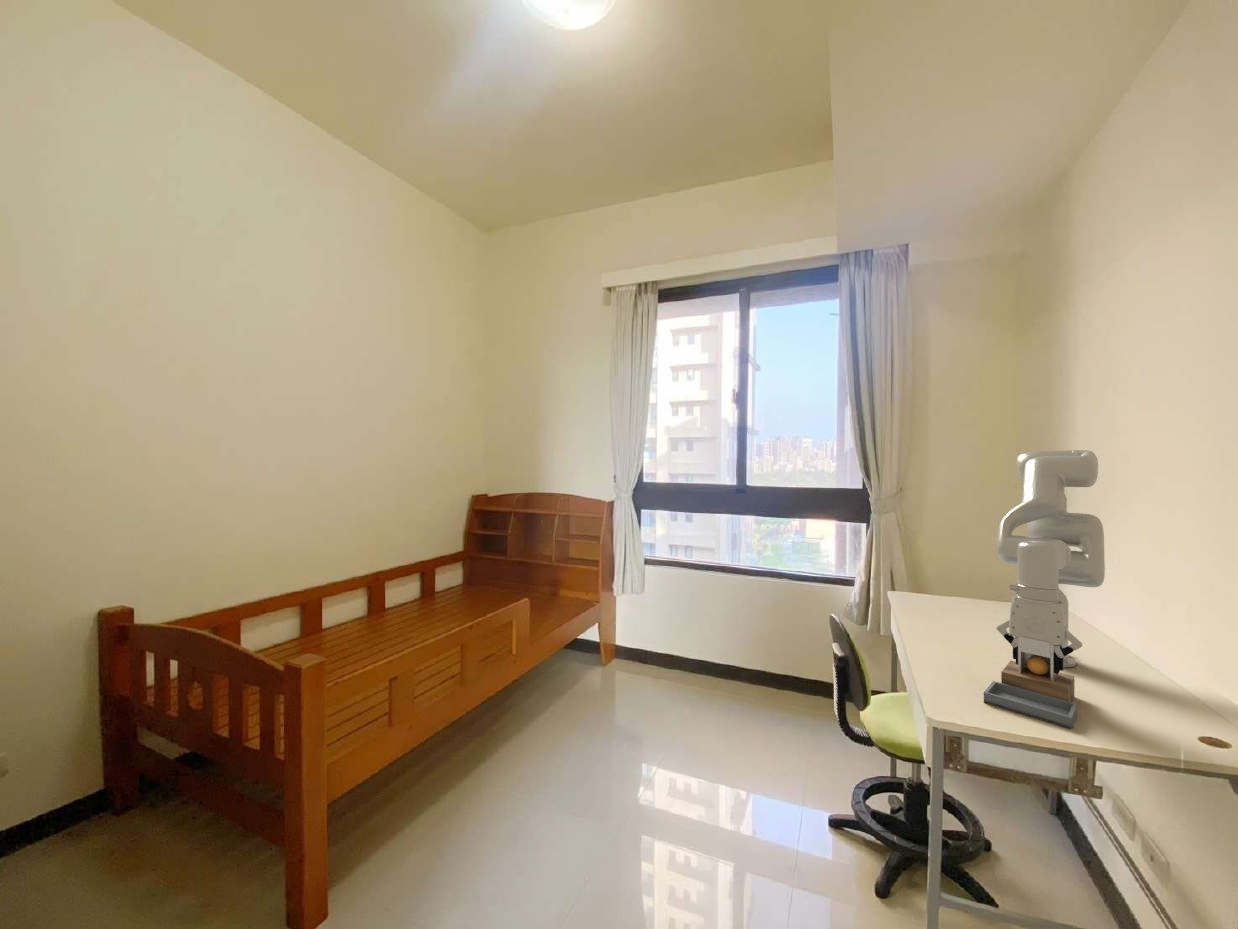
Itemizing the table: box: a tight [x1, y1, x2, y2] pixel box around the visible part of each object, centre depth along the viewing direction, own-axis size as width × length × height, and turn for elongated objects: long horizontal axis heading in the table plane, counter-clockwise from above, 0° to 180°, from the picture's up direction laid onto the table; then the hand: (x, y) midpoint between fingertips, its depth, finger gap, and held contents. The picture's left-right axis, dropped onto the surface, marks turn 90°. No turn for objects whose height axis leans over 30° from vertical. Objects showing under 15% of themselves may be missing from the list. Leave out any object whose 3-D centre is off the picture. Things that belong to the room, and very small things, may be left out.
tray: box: [983, 680, 1078, 730], centre depth 110 cm, size 9×15×2 cm, turn 41°
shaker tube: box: [1018, 637, 1057, 682], centre depth 116 cm, size 6×6×9 cm
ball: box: [1027, 657, 1049, 675], centre depth 116 cm, size 4×4×4 cm
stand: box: [1000, 660, 1075, 703], centre depth 116 cm, size 10×12×5 cm
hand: (1037, 666), depth 116 cm, fingers closed on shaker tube, 6 cm apart
